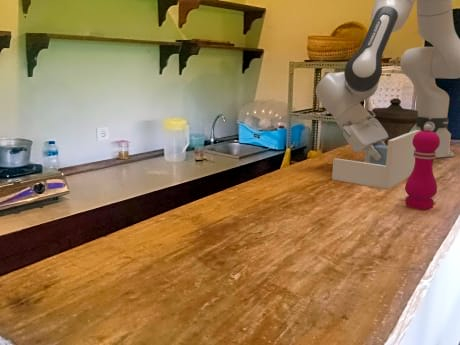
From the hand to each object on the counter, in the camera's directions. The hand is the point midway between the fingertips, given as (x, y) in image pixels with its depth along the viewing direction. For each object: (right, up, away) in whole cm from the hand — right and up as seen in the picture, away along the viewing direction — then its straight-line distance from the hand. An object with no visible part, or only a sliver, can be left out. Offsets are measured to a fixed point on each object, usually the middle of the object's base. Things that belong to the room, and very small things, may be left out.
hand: (383, 157), depth 139 cm
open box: (-2, -6, +3) cm, 7 cm away
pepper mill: (+1, -13, -22) cm, 26 cm away
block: (-1, -6, +2) cm, 6 cm away
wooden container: (+10, -1, +25) cm, 27 cm away
